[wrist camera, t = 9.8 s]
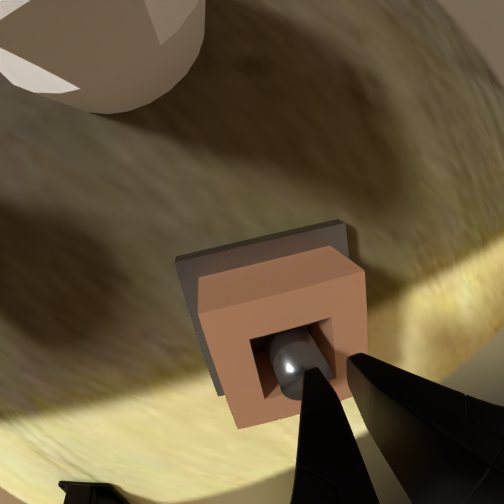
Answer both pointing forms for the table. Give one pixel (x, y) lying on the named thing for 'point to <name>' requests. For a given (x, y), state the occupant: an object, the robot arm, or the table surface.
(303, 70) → the table surface
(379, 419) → the robot arm
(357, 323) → the collar
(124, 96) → the cylinder with rectangular tab
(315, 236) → the grey base with peg
